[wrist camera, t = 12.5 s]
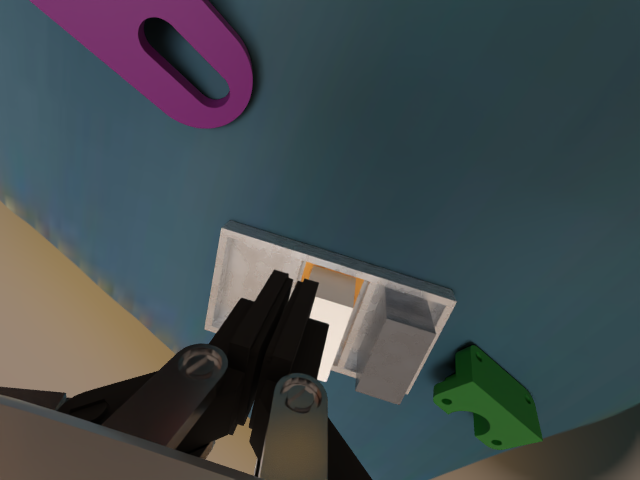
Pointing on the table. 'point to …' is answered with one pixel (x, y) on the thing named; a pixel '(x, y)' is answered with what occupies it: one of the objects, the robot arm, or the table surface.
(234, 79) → the mounting bracket
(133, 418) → the robot arm
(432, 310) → the grey compartment tray
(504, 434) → the clamp
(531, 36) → the table surface
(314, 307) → the cream upright block
